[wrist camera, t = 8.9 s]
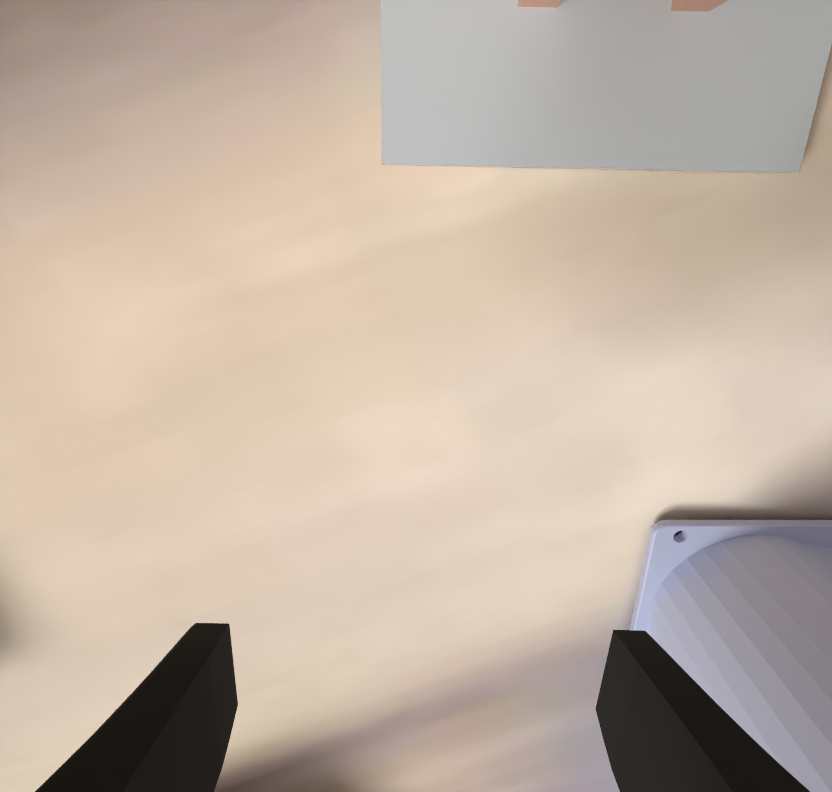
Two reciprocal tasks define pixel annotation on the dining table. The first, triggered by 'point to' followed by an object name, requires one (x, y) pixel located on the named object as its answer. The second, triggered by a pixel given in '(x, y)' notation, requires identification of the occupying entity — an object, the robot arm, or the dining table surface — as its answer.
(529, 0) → the tan slotted block
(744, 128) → the mat
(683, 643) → the robot arm
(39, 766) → the dining table surface
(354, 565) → the dining table surface
